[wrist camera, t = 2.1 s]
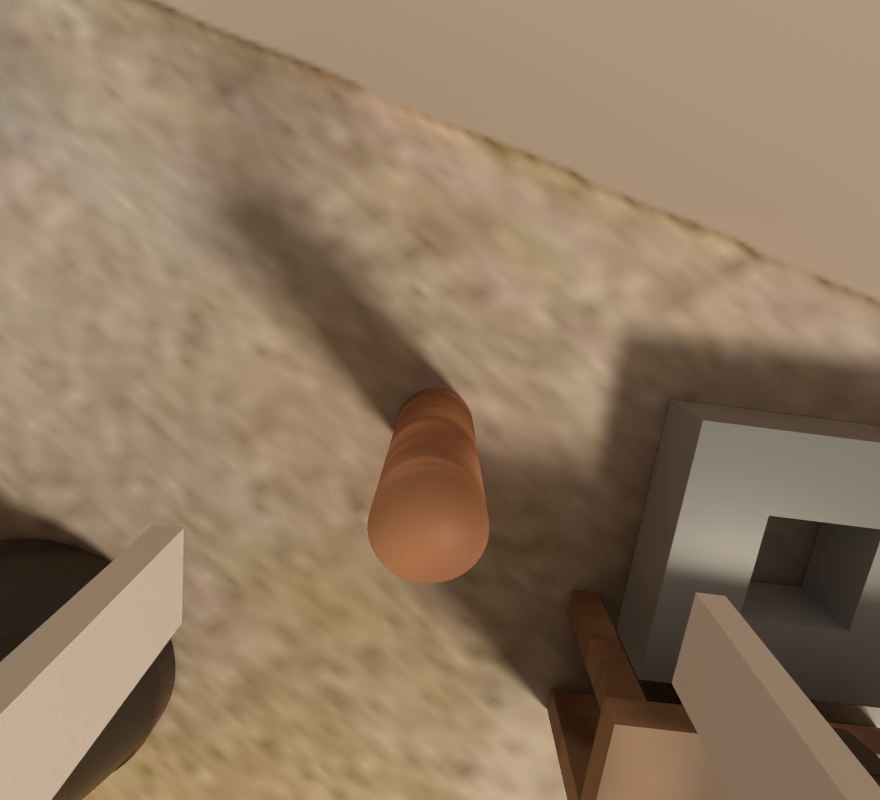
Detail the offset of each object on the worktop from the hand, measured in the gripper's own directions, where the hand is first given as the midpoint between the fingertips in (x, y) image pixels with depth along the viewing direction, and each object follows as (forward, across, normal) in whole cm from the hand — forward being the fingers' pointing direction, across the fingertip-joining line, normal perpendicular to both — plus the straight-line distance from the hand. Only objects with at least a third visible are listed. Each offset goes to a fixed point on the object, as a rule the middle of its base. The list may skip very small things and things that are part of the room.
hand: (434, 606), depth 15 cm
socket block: (+16, +19, -4) cm, 25 cm away
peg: (+16, 0, 0) cm, 16 cm away
